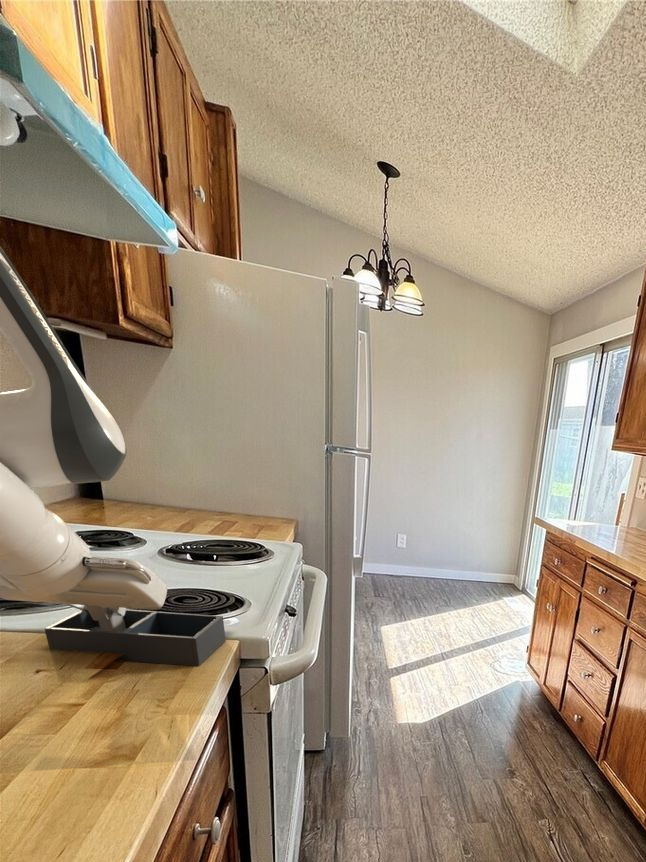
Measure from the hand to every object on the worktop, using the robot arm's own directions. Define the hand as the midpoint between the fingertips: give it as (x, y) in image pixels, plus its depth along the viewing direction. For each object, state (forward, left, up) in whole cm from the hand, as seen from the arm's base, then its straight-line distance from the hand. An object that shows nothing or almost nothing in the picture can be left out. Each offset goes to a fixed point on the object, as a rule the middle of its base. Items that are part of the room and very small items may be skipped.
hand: (106, 610), depth 78 cm
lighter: (0, -1, -5) cm, 5 cm away
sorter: (+4, -1, -5) cm, 7 cm away
